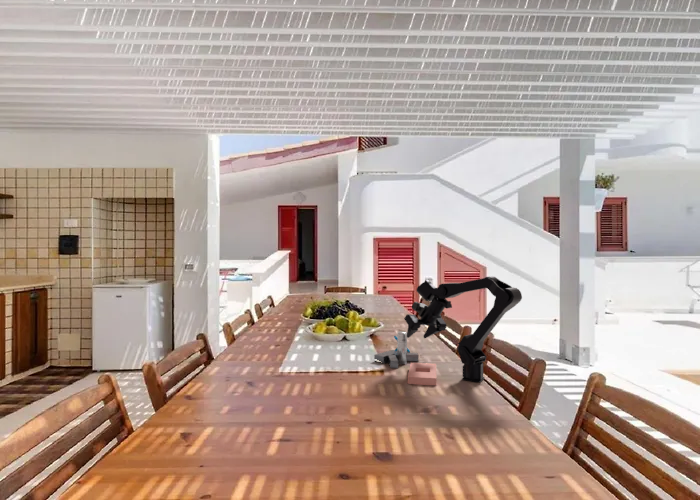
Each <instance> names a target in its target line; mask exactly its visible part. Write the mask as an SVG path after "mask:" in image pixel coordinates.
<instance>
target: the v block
mask: <svg viewBox="0 0 700 500" xmlns="http://www.w3.org/2000/svg"><path fill="white" fill-rule="evenodd" d="M394 350H395V349H393V350H387V351H383V352H379V353H376V354H374V355H373V357H374V359H377V360H379V361H381V362H382V363H383V364H382V363H381V364H382V365H385V364H388V366H389V365H390V366H389V367H390V369H399V364H398V359H397V351H394ZM419 359H420V358H419V353H417V352H410V353H409V352H407V361H418V362H419ZM384 363H385V364H384Z"/></svg>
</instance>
